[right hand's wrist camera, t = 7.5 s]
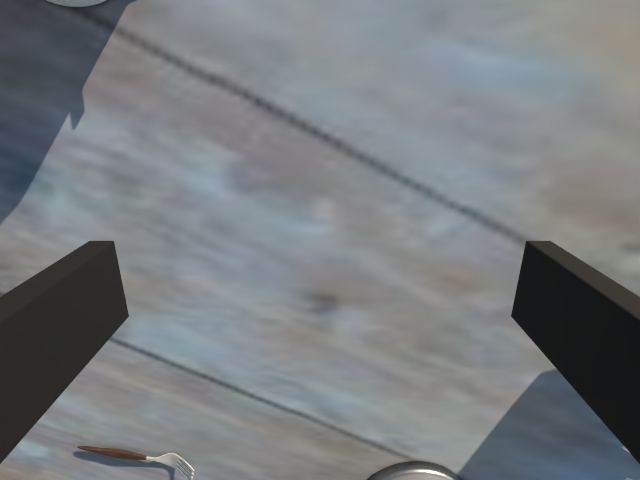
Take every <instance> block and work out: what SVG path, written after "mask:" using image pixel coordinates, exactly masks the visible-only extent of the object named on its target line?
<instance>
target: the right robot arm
mask: <svg viewBox="0 0 640 480" xmlns="http://www.w3.org/2000/svg"><path fill="white" fill-rule="evenodd" d="M128 317H129V315H128V310H127V305H126V300H125V295H124V290H123V285H122V280H121V275H120V270H119V265H118V260H117V255H116V250H115V245H114V241H89V242H87V243H86V244H84V245H82V246H81V247H79V248H78V249H76V250H74V251H73V252H71V253H70V254H68V255H67V256H65V257H63V258H62V259H60V260H59V261H57V262H55V263H54V264H52V265H51V266H49V267H47V268H46V269H44V270H43V271H41V272H39V273H38V274H36V275H35V276H33V277H31V278H30V279H28V280H27V281H25V282H24V283H22V284H20V285H19V286H17V287H16V288H14V289H12V290H11V291H9V292H8V293H6V294H4V295H3V296H1V297H0V464H1V462H2V461H3V460H4V459H5V458H6V457H7V456H8V454H9V453H10V452H11V451H12V450H13V449H14V448H15V446H16V445H17V444H18V443H19V442H20V441H21V439H22V438H23V437H24V436H25V435H26V434H27V433H28V431H29V430H30V429H31V428H32V427H33V426H34V425H35V423H36V422H37V421H38V420H39V419H40V418H41V417H42V415H43V414H44V413H45V412H46V411H47V410H48V408H49V407H50V406H51V405H52V404H53V403H54V402H55V400H56V399H57V398H58V397H59V396H60V395H61V394H62V392H63V391H64V390H65V389H66V388H67V387H68V385H69V384H70V383H71V382H72V381H73V380H74V379H75V377H76V376H77V375H78V374H79V373H80V372H81V371H82V369H83V368H84V367H85V366H86V365H87V364H88V362H89V361H90V360H91V359H92V358H93V357H94V356H95V354H96V353H97V352H98V351H99V350H100V349H101V348H102V346H103V345H104V344H105V343H106V342H107V341H108V339H109V338H110V337H111V336H112V335H113V334H114V333H115V331H116V330H117V329H118V328H119V327H120V326H121V325H122V323H123V322H124V321H125V320H126V319H127V318H128ZM511 317H512V318H513V319H514V320H515V321H516V322H517V323H518V325H519V326H520V327H521V328H522V329H523V330H524V331H525V333H526V334H527V335H528V336H529V337H530V338H531V339H532V341H533V342H534V343H535V344H536V345H537V346H538V348H539V349H540V350H541V351H542V352H543V353H544V354H545V356H546V357H547V358H548V359H549V360H550V361H551V362H552V364H553V365H554V366H555V367H556V368H557V369H558V371H559V372H560V373H561V374H562V375H563V376H564V377H565V379H566V380H567V381H568V382H569V383H570V384H571V385H572V387H573V388H574V389H575V390H576V391H577V392H578V394H579V395H580V396H581V397H582V398H583V399H584V400H585V402H586V403H587V404H588V405H589V406H590V407H591V408H592V410H593V411H594V412H595V413H596V414H597V415H598V417H599V418H600V419H601V420H602V421H603V422H604V423H605V425H606V426H607V427H608V428H609V429H610V430H611V431H612V433H613V434H614V435H615V436H616V437H617V438H618V439H619V441H620V442H621V443H622V444H623V445H624V446H625V448H626V449H627V450H628V451H629V452H630V453H631V454H632V456H633V457H634V458H635V459H636V460H637V461H638V462H639V464H640V297H639V296H637V295H636V294H634V293H632V292H631V291H629V290H628V289H626V288H624V287H623V286H621V285H620V284H618V283H616V282H615V281H613V280H612V279H610V278H609V277H607V276H605V275H604V274H602V273H601V272H599V271H597V270H596V269H594V268H593V267H591V266H589V265H588V264H586V263H585V262H583V261H581V260H580V259H578V258H577V257H575V256H573V255H572V254H570V253H569V252H567V251H565V250H564V249H562V248H561V247H559V246H558V245H556V244H554V243H553V242H551V241H526V245H525V250H524V255H523V260H522V265H521V270H520V275H519V280H518V285H517V290H516V295H515V300H514V305H513V310H512V315H511ZM369 480H460V479H459V478H458V477H457V476H456V475H455V474H454V473H453V472H452V471H450V470H449V469H447V468H445V467H443V466H440V465H438V464H434V463H429V462H421V461H412V462H404V463H399V464H395V465H392V466H389V467H387V468H385V469H383V470H381V471H379V472H378V473H376V474H375V475H374V476H372V477H371V478H370V479H369Z"/></svg>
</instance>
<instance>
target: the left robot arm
mask: <svg viewBox="0 0 640 480" xmlns="http://www.w3.org/2000/svg"><path fill="white" fill-rule="evenodd" d="M46 1H49V2H52V3H55V4H59V5H63V6H70V7H86V6H92V5H96V4H99V3H102V2H104V1H106V0H46Z"/></svg>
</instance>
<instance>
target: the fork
mask: <svg viewBox="0 0 640 480" xmlns="http://www.w3.org/2000/svg"><path fill="white" fill-rule="evenodd" d="M78 448H80V449H83V450H86V451H90V452H95V453H99V454H104V455H108V456H112V457H116V458H123V459H138V460H151V461H157V462H160V463H163V464H165V465H168V466H170V467H173V468H175V469H177V470H178V471H180V472H181V473H182V474H183V475H185V476H186V477H187V478H188V479H189V480H191V479H190V478H189V477H188V476H187V475H186V474H185V473H184V472H183V471H182V470H184V471H185V472H186V473H187V474H188V475H189V476H190V477H191V478H192V479H193V477H192V475H194V473H193V472H192V471H191V470H190V469H189V468H188V467H187V466H186V465H188V466H189V467H190V468H191V469H192V470H193V471H195V470H194V469H193V468H192V467H191V466H190V465H189V464H188V463H187V462H186V461H185V460H184V459H182V458H181V457H180V456H178V455H177V454H175V453H167V454H164V455H162V456H159V457H148V456H145V455H141V454H137V453H134V452H130V451H126V450H120V449H109V448H98V447H89V446H78ZM180 460H181V461H183V462H184V463H185V464H186V465H185V464H183V463H182V462H181V461H180ZM179 463H180V464H181V465H182V466H184V467H185V468H186V469H187V470H188V471H189V472H191V473H192V475H191V474H190V473H189V472H188V471H187V470H185V469H184V468H183V467H182V466H181V465H180V464H179ZM179 467H180V468H181V469H182V470H181V469H180V468H179Z"/></svg>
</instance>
